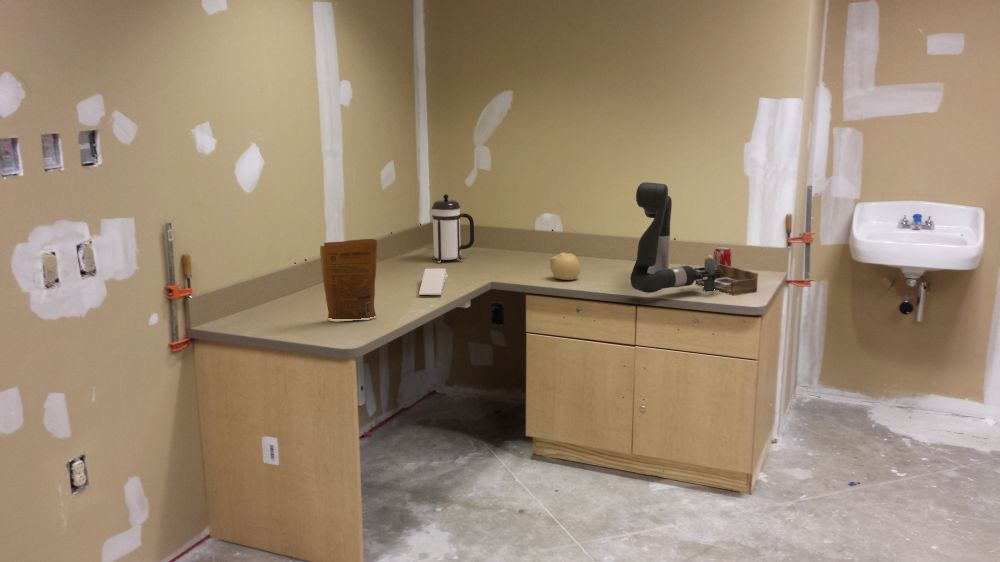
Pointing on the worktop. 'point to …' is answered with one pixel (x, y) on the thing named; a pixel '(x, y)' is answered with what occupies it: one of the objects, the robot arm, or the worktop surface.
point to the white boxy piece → (433, 281)
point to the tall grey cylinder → (709, 267)
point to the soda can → (722, 256)
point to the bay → (736, 285)
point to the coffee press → (448, 229)
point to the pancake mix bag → (349, 278)
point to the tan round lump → (565, 266)
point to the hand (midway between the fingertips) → (712, 272)
